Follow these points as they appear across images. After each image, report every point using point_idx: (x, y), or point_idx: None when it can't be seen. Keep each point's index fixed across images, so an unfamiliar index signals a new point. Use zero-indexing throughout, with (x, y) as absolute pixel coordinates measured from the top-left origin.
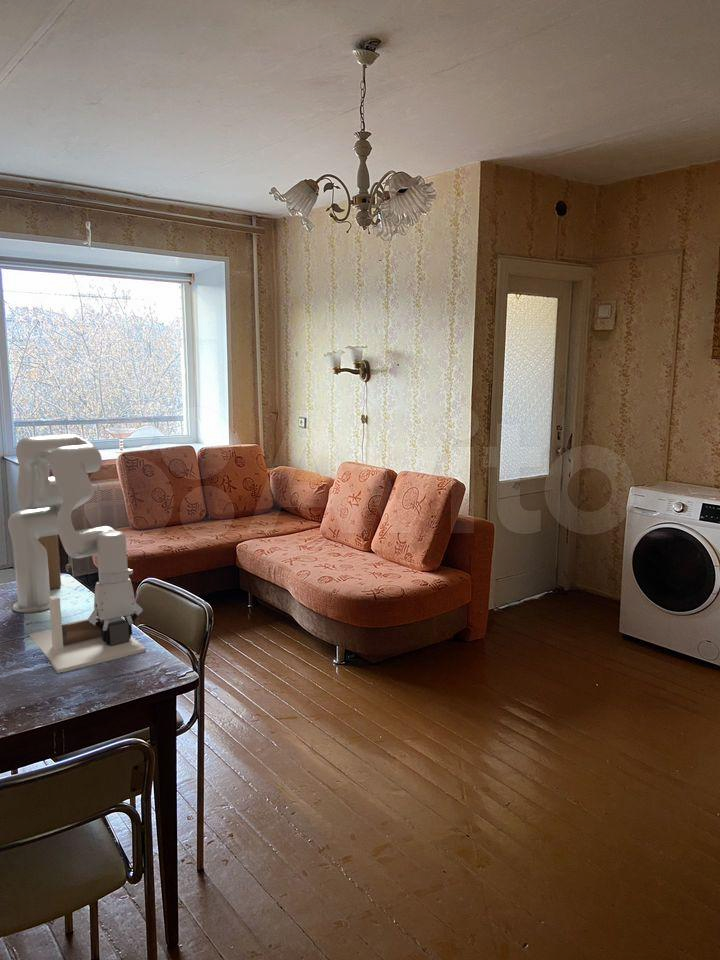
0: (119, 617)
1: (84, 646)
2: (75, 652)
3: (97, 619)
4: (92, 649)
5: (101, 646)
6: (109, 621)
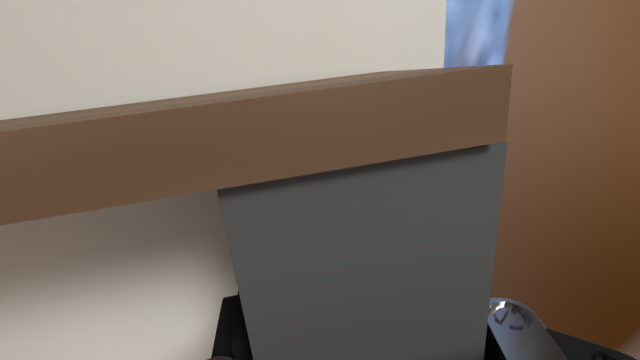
0: (475, 261)
1: (89, 252)
2: (20, 333)
3: (165, 189)
4: (150, 327)
5: (217, 299)
6: (321, 350)
